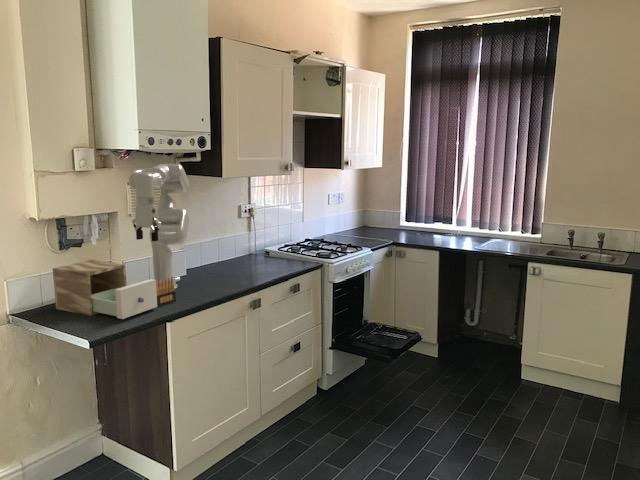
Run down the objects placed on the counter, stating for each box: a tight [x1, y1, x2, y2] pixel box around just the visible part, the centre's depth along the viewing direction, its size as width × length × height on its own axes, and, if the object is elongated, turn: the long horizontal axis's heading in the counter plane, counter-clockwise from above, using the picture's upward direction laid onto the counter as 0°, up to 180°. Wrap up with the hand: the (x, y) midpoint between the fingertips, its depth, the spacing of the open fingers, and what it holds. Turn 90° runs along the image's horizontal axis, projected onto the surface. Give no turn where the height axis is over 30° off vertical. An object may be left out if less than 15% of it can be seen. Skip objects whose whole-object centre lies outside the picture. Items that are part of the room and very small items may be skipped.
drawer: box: [91, 278, 158, 320], centre depth 230 cm, size 19×24×12 cm
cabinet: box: [52, 259, 128, 317], centre depth 238 cm, size 20×22×18 cm
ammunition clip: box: [156, 277, 177, 308], centre depth 242 cm, size 11×2×12 cm, turn 146°
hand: (147, 240), depth 239 cm, fingers open, 9 cm apart
